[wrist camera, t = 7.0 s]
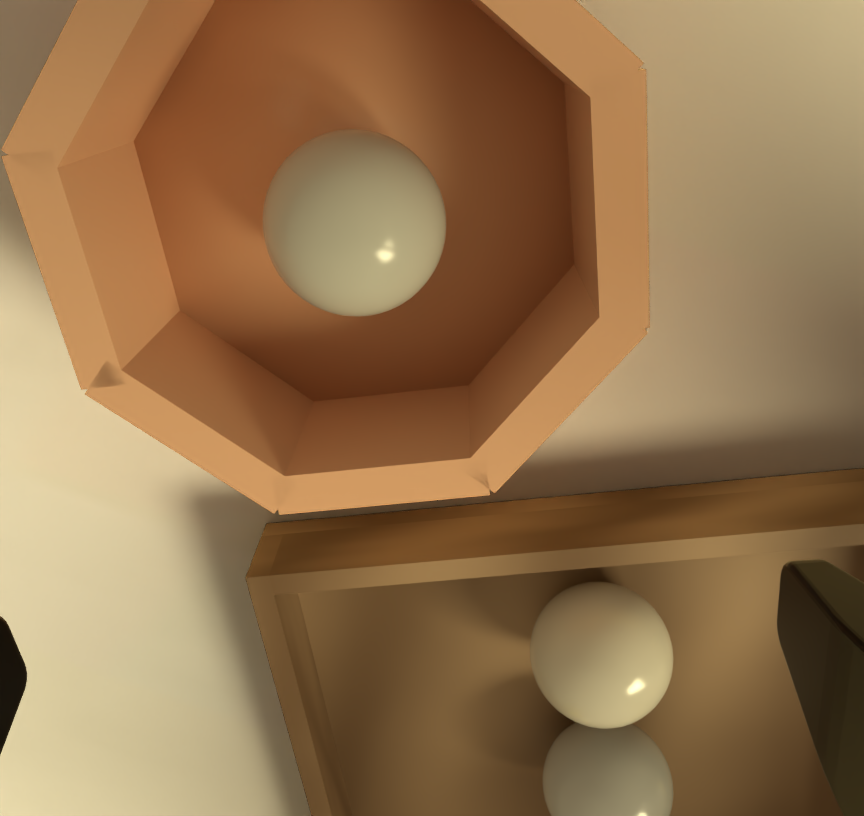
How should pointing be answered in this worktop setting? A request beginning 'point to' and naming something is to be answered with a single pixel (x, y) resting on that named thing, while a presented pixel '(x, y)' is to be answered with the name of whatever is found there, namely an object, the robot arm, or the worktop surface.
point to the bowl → (257, 277)
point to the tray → (511, 633)
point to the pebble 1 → (354, 222)
